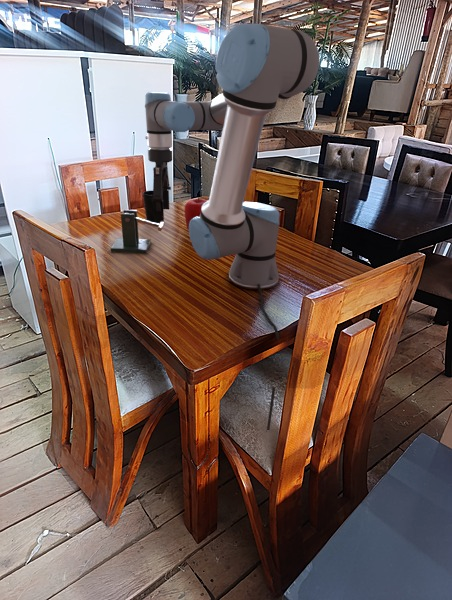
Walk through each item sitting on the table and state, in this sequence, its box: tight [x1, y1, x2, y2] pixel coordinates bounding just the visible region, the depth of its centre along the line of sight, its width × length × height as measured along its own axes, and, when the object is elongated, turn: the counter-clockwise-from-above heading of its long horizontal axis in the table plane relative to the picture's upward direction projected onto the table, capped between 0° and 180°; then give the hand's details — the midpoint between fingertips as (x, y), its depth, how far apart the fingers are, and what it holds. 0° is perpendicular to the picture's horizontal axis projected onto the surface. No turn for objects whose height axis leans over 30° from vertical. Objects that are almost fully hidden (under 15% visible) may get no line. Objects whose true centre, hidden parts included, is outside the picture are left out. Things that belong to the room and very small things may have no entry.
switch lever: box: [126, 212, 165, 232], centre depth 136 cm, size 13×6×2 cm, turn 90°
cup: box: [142, 190, 161, 224], centre depth 163 cm, size 8×8×12 cm
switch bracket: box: [110, 209, 152, 255], centre depth 137 cm, size 12×10×13 cm
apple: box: [183, 197, 208, 231], centre depth 154 cm, size 10×10×14 cm
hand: (162, 214), depth 134 cm, fingers open, 13 cm apart
